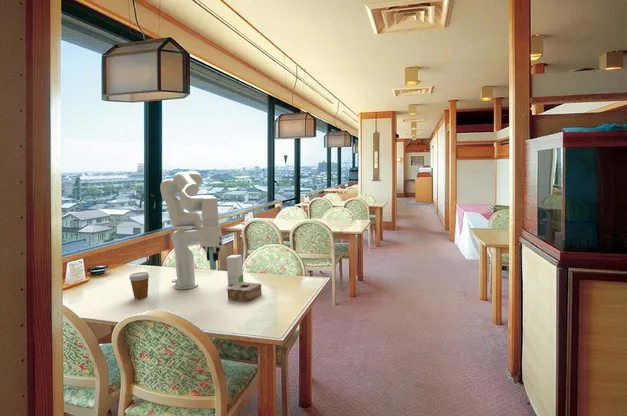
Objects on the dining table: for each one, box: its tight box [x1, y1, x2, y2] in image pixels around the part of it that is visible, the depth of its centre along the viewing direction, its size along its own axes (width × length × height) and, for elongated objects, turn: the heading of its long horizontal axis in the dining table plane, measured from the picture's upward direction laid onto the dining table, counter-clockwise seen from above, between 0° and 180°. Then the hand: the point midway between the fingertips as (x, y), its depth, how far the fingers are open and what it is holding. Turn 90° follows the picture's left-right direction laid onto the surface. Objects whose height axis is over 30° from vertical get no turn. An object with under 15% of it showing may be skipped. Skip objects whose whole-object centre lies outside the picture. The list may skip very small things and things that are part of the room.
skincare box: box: [225, 254, 244, 286], centre depth 232 cm, size 8×7×16 cm
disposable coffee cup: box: [128, 271, 150, 300], centre depth 213 cm, size 10×10×12 cm
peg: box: [209, 247, 217, 270], centre depth 201 cm, size 3×3×12 cm
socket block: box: [227, 281, 263, 303], centre depth 207 cm, size 12×12×6 cm
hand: (212, 260), depth 201 cm, fingers closed on peg, 3 cm apart
